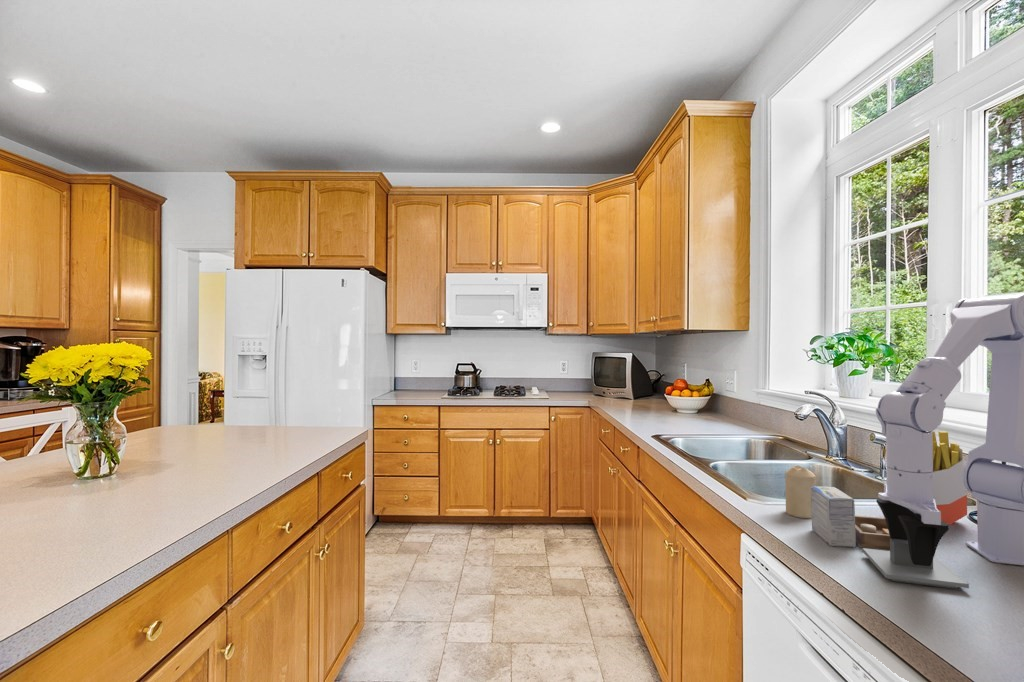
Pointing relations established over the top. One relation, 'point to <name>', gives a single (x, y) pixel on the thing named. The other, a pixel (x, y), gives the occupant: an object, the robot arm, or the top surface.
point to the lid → (912, 567)
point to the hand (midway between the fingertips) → (910, 554)
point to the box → (872, 532)
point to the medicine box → (833, 516)
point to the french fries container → (948, 479)
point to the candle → (799, 491)
